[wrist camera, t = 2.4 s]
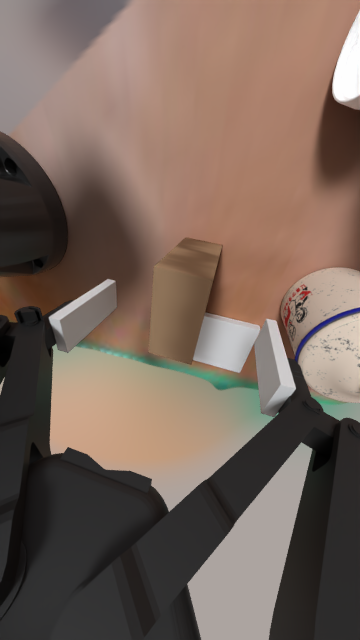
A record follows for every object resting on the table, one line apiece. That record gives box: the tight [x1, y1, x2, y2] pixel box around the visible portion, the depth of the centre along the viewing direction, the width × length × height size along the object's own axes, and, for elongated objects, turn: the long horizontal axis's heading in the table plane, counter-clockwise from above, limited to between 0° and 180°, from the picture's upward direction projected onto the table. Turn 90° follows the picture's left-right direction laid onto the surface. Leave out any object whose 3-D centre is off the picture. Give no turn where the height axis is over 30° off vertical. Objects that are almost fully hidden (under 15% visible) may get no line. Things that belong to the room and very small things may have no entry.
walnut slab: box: [148, 238, 222, 365], centre depth 19 cm, size 4×8×10 cm, turn 172°
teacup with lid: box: [281, 267, 360, 403], centre depth 17 cm, size 12×9×12 cm
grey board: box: [193, 312, 260, 373], centre depth 27 cm, size 10×8×1 cm
